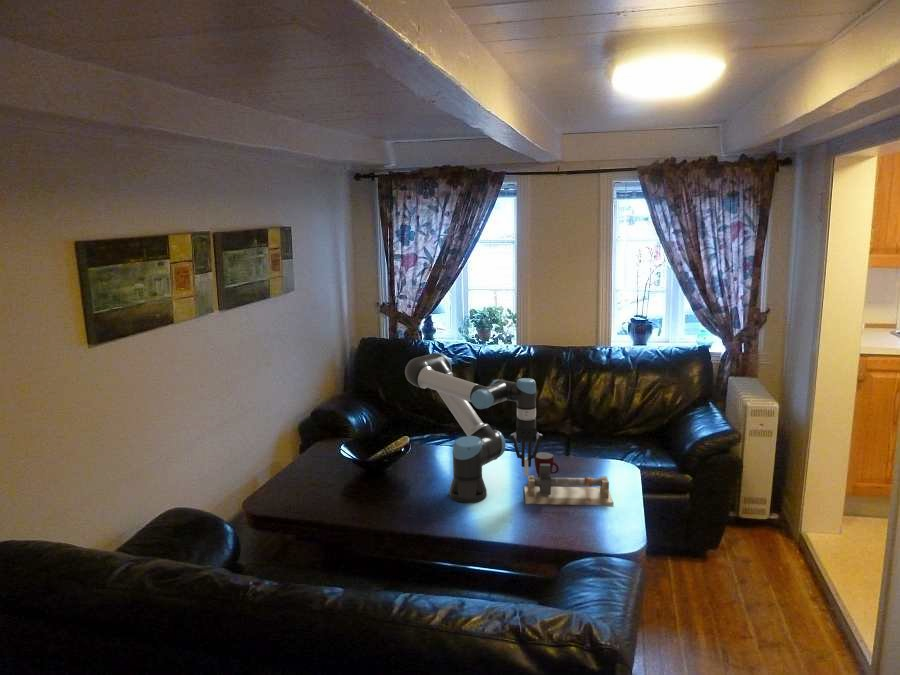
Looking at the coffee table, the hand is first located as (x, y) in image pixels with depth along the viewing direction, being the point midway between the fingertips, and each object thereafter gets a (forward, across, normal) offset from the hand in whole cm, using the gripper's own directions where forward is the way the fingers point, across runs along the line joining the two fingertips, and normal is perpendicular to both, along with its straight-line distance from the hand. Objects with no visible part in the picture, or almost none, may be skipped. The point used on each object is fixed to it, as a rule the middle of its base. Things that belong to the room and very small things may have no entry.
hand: (526, 474), depth 254 cm
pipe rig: (+9, +16, 0) cm, 19 cm away
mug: (+10, +10, +19) cm, 23 cm away
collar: (+7, +8, 0) cm, 10 cm away
